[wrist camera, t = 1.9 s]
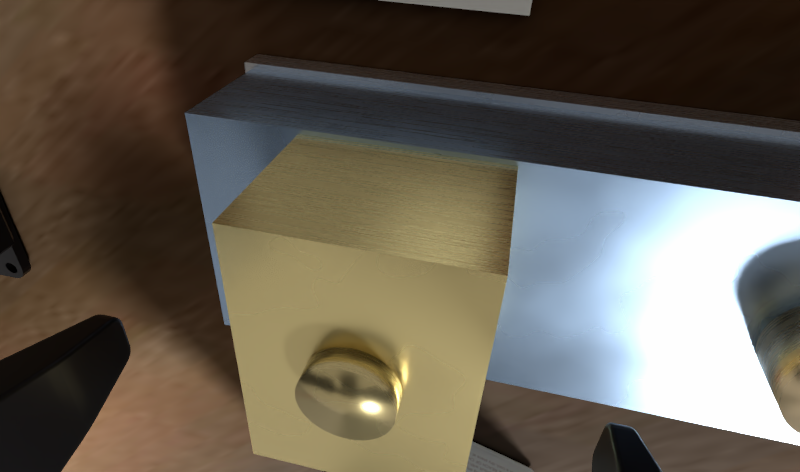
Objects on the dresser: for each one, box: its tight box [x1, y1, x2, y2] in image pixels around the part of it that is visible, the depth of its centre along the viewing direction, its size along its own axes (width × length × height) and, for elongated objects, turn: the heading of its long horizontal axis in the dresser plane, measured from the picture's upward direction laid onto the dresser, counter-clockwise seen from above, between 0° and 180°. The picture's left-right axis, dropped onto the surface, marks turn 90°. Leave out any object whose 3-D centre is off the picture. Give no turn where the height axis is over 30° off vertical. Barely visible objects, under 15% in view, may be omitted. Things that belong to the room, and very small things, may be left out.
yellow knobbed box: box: [212, 134, 518, 472], centre depth 11 cm, size 4×6×4 cm
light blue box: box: [185, 54, 800, 445], centre depth 13 cm, size 16×6×6 cm, turn 88°
